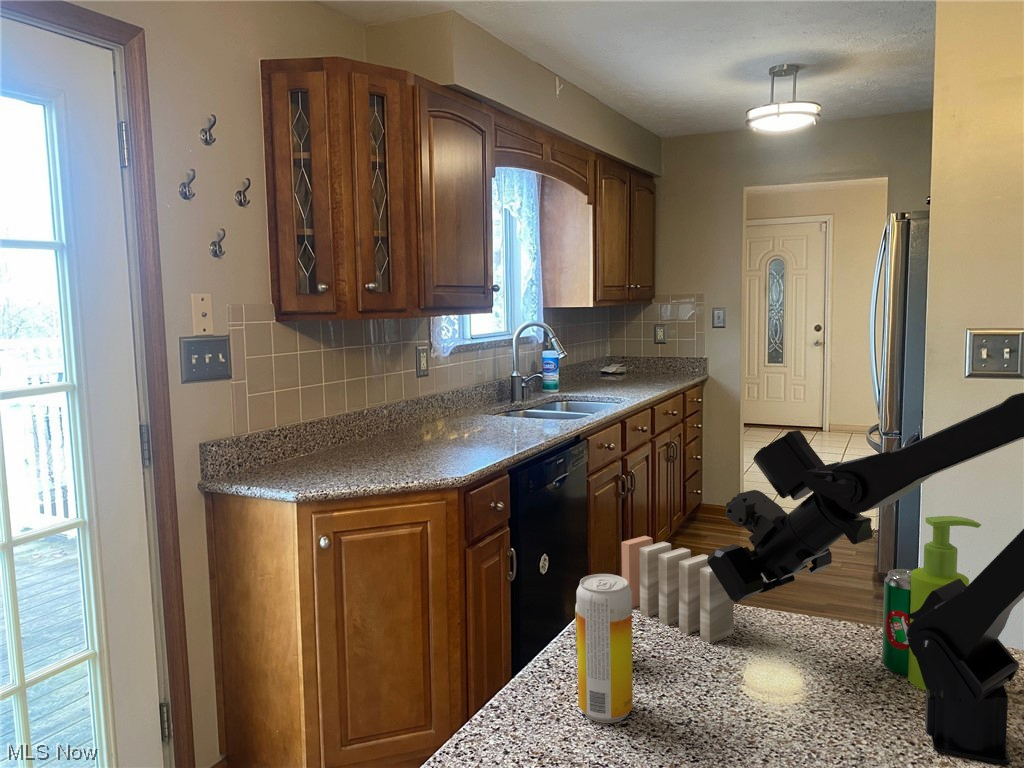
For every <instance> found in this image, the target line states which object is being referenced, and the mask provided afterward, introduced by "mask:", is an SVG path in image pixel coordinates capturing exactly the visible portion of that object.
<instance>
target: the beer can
mask: <svg viewBox="0 0 1024 768" xmlns="http://www.w3.org/2000/svg"><path fill="white" fill-rule="evenodd" d="M576 603H577V649H578V658H577V688H578V689H577V692H578V693H577V694H578V695H577V697H578V698H577V700H578V701H577V702H578V707H579V709H580V710H581V711H582V712H583V713H584V715H585V716H586V718H588V719H589V720H591V721H594V722H598V723H602V724H603V723H605V724H608V723H609V724H611V723H618V722H620V721H622V720H624V719H626V718H627V716H628V714H629V713H630V712H631V711H632V709H633V708H634V707H633V706H634V705H633V704H634V703H633V702H634V700H633V698H634V697H633V695H634V693H633V691H634V690H633V689H634V688H633V687H634V686H633V685H634V684H633V683H634V682H633V681H634V679H633V615H632V614H633V612H632V611H633V608H632V592H631V590H630V588H629V586H628V582H627V580H626V579H624V578H623V577H622V576H620V575H616V574H612V573H596V574H591V575H585V576H583V578H581V579H580V581H579V585H578V587H577V589H576Z"/></svg>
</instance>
